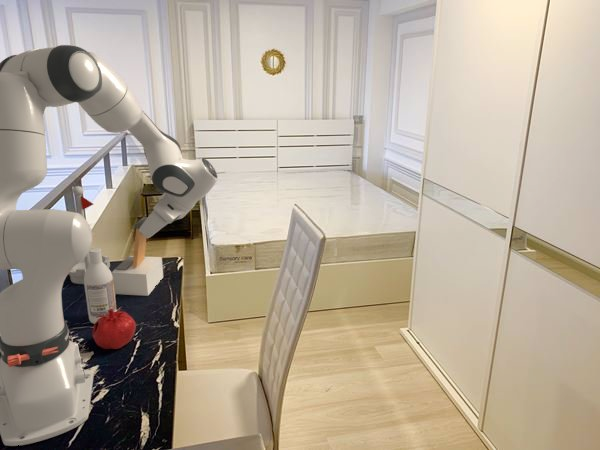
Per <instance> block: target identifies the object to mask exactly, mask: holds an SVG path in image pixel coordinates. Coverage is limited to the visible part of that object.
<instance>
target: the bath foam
mask: <svg viewBox="0 0 600 450" xmlns="http://www.w3.org/2000/svg"><path fill="white" fill-rule="evenodd" d="M102 256H103V255H102V249H101V248H100V247H93V248H92V247H91V248H90V250H89V258H90V264H89V266H88V268H87V270H86V272H85V275H84V284H83V287H84V292H85V294H84V295H85V300H86V306H87V315H88V320H89V322H90V323H91V324H95V323H96V322H97V320H98V319H99V318H102V317H98V316H99V315H102V316H106V315H108V310H110V309H113V312H116V311H118V309H117V304H116V303H117V302H116V294H115V292H114V284H113V277H112V273H111V272H112V271H111V270H110V267H109V268H108V267H107V266H106V265H105V264H104V263H103V262H102ZM96 317H98V318H96Z"/></svg>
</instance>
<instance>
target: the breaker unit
mask: <svg viewBox="0 0 600 450" xmlns="http://www.w3.org/2000/svg"><path fill="white" fill-rule="evenodd" d="M133 257H134V255H129V256H127V257H126V258H125V259H124V260H123V261H122V262H121V263H119V265H117V266H116V267H115V268H114V269H113V270H112V271H111V273H112V277H113V284H114V292H115V295H127V296H128V295H129V296H146V297H147V296H149V295H150V294H151V292H153V291H154V289H155V288H156V287H157V286H158V284H159V283H160V282H161V281H162V279H163V278H164V269H163V268H164V267H163V258H162V257H161V256H145V257H144V260H143V261H142V262H141V263H140V264H139V265H138V266H137V267H133ZM160 280H161V281H160ZM156 285H157V286H156ZM155 286H156V287H155Z"/></svg>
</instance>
